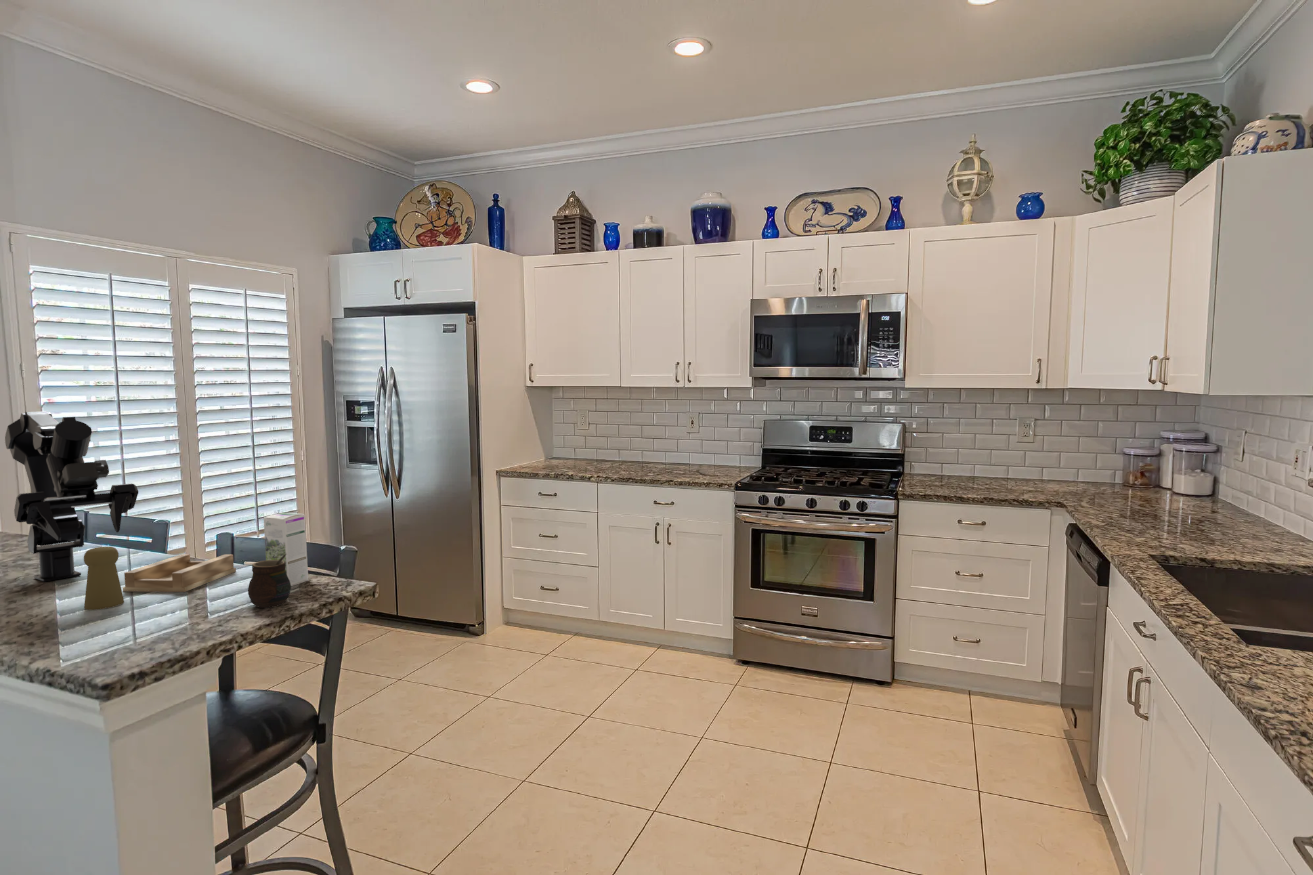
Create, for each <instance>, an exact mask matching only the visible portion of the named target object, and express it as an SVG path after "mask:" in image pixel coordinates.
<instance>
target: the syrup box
mask: <svg viewBox="0 0 1313 875" xmlns="http://www.w3.org/2000/svg"><path fill="white" fill-rule="evenodd" d="M306 528H307V527H306V514H304V513H298V512H297V513H296V512H278V513H277V512H276V513H273V514H269V515H267V516H263V531H264V533H263V534H264V547H265V550H264V551H265V560H279V559H281V558H282V557H283V555H285V554H286V556H285V557H284V558H283V560H282V561H285V572H286V574H287V577H288V579H289V580H290V583H291V587H293V586H296V585H299V584H302V583H305V582H308V581H309V571H308V569H309V568H308V552H307V551H308V550H307V549H308V548H307V532H306V531H307V530H306Z"/></svg>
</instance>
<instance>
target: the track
mask: <svg viewBox="0 0 1313 875" xmlns="http://www.w3.org/2000/svg"><path fill="white" fill-rule="evenodd" d="M235 572H237V568H236V567H234V554H221V555H220V556H216V557H214V558H211V559H207V560H191V554H187V553H185V554H184V553H182V554H178V555H175V556H171V557H169V558H165V559H163V560H159V561H156V562H154V563H153V562H152V563H151V564H150V563H149V564H147V565H144V566H141V567H138V568H134V569H131V570H128V571H126V572H124V575H123V576H124V586H123V587H122V592H153V593H155V592H156V593H157V592H158V593H159V592H161V593H163V592H165V593H166V592H168V593H169V592H170V593H171V592H172V593H183V592H184V593H185V592H188V591H190V590H192V589H196V588H198V587H201V586H203V585H205V584H208V583H210V582H214V581H216V580H218V579H220V578H224V577H225V576H227V575H231V574H233V573H235Z"/></svg>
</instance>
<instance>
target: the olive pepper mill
mask: <svg viewBox="0 0 1313 875" xmlns="http://www.w3.org/2000/svg"><path fill="white" fill-rule="evenodd" d="M119 554H120V553H119V551H118V549H117V548H116V547H113V546H98V547H94V548H93V547H92V548H90V549H88V550H86V551H85V553H84V555H83V562H84V565H86V566H87V575H86V584H85V595H84V596H85V597H84V605H83V609H84V610H88V611H95V610H96V611H97V610H103V609H104V610H105V609H111V608H115V607H118V606H121V605H123V604H124V603H125V599H124V594H123V589H122V586H121V582H120V578H119V572H118V569H117V564H116V563H117V562H118V560H119V556H120V555H119Z"/></svg>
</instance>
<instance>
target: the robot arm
mask: <svg viewBox="0 0 1313 875" xmlns="http://www.w3.org/2000/svg"><path fill="white" fill-rule="evenodd" d="M5 431H6V432H5V435H4V441H5V442H4V443H5V448H6V449H7V450H9V452H10V454H11V457H12V459H13V460H15V461H17V462H18V463H20V464H22V465H24V468H25V472H26V476H27V479H28V483H29V485H30V486H29V487H30V490H31V492H25V493H19V494H18V495H17V496H16V498H15V503H14V508H13V509H14V510H13V512H14V513H13V514H14V518H15V520H16V522H17V523H26V524H27V525H30V527H29V532H28V536H27V541H26V542H27V548H28V549H27V550H28V552H29V553H31V554H33V555H34V554H35V555H36V554H38V561H39V574H36V575H34V576H33V578H34V579H36V580H38V581H41V582H50V581H55V580H62V579H68V578H72V577H77V576H78V577H79V576H81V575H82V572H80V571H77V570H75V562H74V560H75V559H74V558H75V557H74V548H82V547H83V546H85V538H84V537H85V534H86V525H85V524H84V523H83V521H82V519H79V518H78V515H77V511H76V509H75V508H81V507H89V506H90V507H91V506H99V505H107V506H108V507H109V510H110V511H109V516H110V519H111V523H112V526H113V529H114V531H115V532H116V533H120V529H121V524H122V523H121V522H122V516H123V514H126V513H128V512H129V511H130V510H133V509H134V508H135V504H136V501H137V499H138V496H139V490H138V487H137V485H135V483H124V484H123V483H122V484H112V485H111V487H110V491H109V492H103V493H97V494H96V492H95V490H98V487H99V484H98V481H97V480H98V479H100V478H101V479H102V478H107V477H108V475H109V474H110V468H109V465H108V463H107V460H106V459H101V460H99V459H98V460H97V459H96V460H94V461H92V462H91V461H89V462H85V460H84V458H83V457H86V455H87V454H88V451H89V446H90V442H91V437H92V432H93V429H92V427H91V426H90V425H88V424H87V423H85V422H82V421H80V420H76V416H63V417H62V419H61V421H60V422H59V421H57V420H56V419H55V418H54V417H53V415H52V412H48V411H47V410H44V411H25V412H21V413H20V416H19V418H18V419H17V420H15V421H14V422H12V423H10V424H9V425H8V426H7V428H6V430H5Z"/></svg>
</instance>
